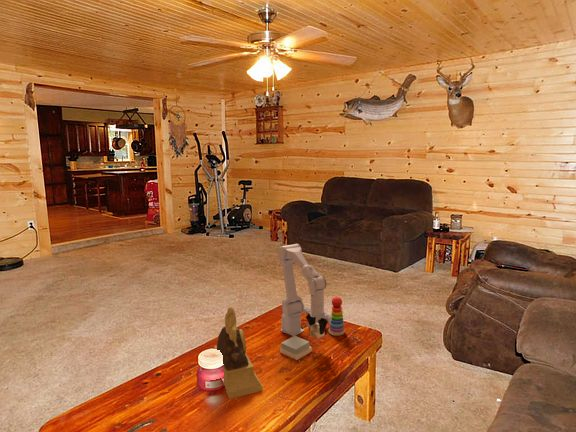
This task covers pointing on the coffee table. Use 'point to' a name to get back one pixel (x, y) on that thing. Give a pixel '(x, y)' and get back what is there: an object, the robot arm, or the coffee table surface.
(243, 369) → the seated figure statue
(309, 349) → the bottom slab
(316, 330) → the ash cube
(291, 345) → the top slab
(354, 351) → the coffee table surface
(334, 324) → the stacking toy
